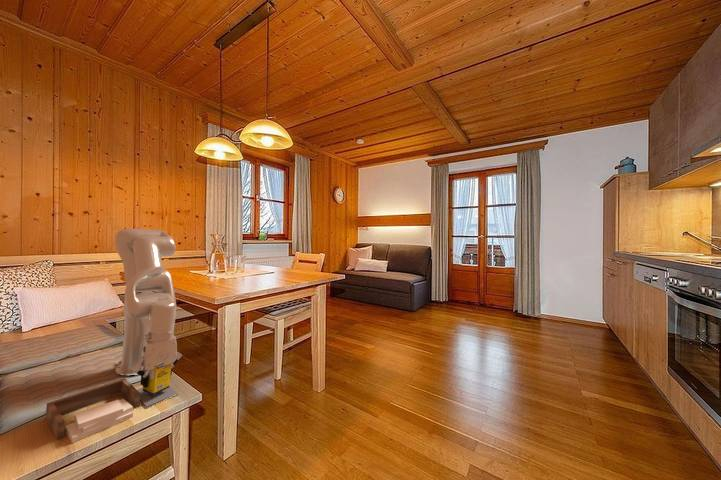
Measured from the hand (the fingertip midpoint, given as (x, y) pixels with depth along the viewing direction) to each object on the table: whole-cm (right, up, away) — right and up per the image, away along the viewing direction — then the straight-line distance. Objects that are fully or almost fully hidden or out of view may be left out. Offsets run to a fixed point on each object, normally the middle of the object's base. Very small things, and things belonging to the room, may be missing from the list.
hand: (156, 381), depth 102 cm
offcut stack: (-6, -5, -16) cm, 18 cm away
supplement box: (0, -3, 0) cm, 3 cm away
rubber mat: (0, -5, 0) cm, 5 cm away
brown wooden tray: (-11, -4, -12) cm, 17 cm away
